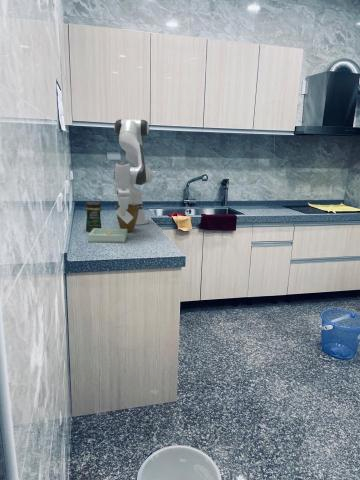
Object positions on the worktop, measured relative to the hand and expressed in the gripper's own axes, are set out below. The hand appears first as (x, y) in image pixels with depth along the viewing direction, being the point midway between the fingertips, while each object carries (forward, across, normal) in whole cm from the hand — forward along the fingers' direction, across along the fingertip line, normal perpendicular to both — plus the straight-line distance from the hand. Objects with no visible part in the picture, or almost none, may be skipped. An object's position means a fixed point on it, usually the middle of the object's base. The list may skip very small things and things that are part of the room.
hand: (122, 215), depth 204 cm
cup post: (+3, 0, +4) cm, 5 cm away
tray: (+14, -1, -8) cm, 16 cm away
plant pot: (+14, -21, +5) cm, 26 cm away
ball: (+12, 0, -8) cm, 14 cm away
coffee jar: (+14, -24, -16) cm, 32 cm away
